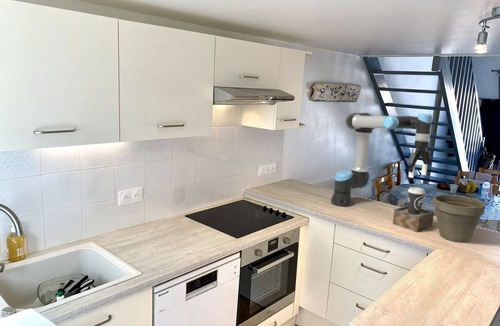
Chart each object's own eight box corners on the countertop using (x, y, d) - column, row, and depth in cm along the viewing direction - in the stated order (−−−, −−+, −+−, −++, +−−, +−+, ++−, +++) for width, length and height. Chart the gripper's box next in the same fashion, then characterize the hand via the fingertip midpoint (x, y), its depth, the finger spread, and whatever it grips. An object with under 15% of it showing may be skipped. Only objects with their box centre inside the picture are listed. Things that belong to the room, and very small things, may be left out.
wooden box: (392, 223, 220) (394, 209, 219) (407, 219, 229) (409, 205, 228) (417, 232, 208) (419, 217, 206) (432, 227, 217) (434, 212, 215)
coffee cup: (419, 210, 221) (422, 187, 218) (424, 215, 212) (428, 191, 209) (403, 209, 222) (406, 186, 219) (408, 214, 213) (411, 190, 210)
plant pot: (421, 235, 203) (425, 198, 199) (439, 225, 219) (444, 191, 215) (469, 250, 185) (476, 210, 180) (486, 239, 200) (492, 202, 196)
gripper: (416, 142, 199) (411, 179, 203) (439, 140, 213) (434, 175, 217) (403, 140, 205) (399, 176, 209) (427, 138, 219) (422, 172, 223)
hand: (417, 176), depth 213 cm, fingers open, 13 cm apart
